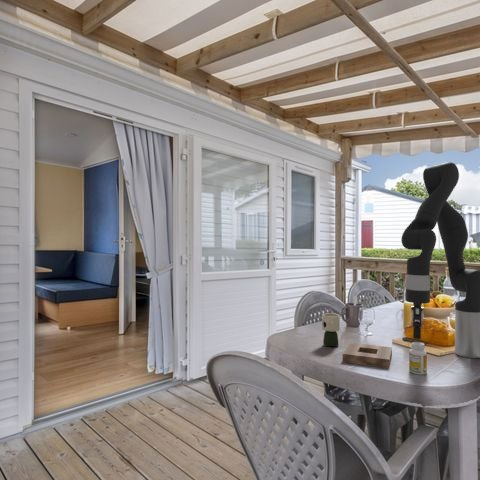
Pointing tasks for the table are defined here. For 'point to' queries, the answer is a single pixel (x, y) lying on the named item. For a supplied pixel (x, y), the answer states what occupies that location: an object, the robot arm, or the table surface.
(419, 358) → the supplement bottle
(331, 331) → the character mug
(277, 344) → the table surface
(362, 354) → the walnut bottle holder
